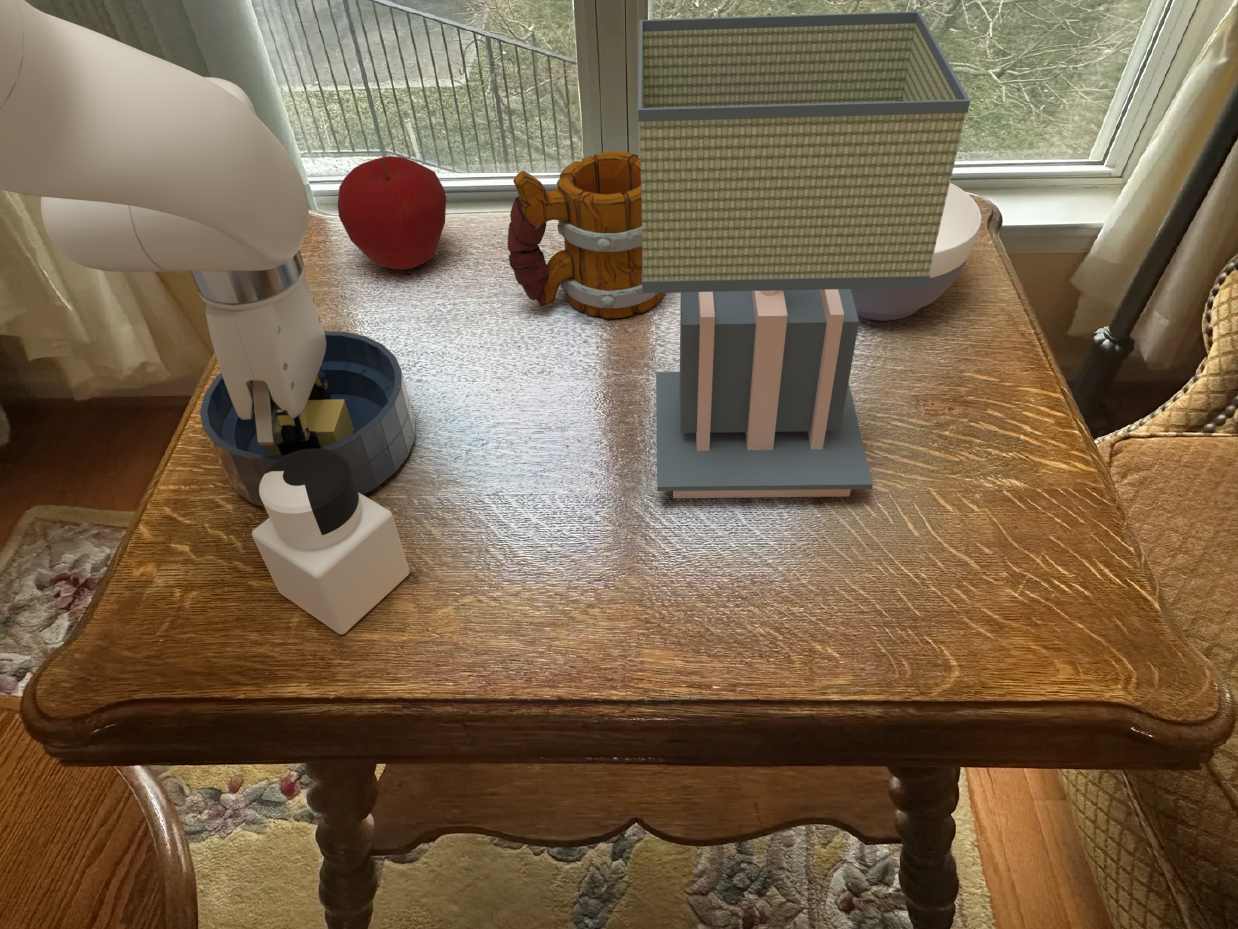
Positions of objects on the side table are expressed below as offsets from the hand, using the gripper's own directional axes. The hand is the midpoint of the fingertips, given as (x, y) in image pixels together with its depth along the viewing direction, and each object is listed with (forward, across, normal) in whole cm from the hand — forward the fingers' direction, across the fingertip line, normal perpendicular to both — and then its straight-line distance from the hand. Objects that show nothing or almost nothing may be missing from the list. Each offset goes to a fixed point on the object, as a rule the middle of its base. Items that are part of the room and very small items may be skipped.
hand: (314, 447), depth 80 cm
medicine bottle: (+2, +13, +5) cm, 14 cm away
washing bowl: (+2, -2, 0) cm, 2 cm away
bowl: (+2, -23, +52) cm, 56 cm away
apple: (+2, -31, +2) cm, 31 cm away
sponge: (+1, 0, 0) cm, 1 cm away
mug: (+2, -24, +23) cm, 33 cm away
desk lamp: (+2, -1, +37) cm, 37 cm away
